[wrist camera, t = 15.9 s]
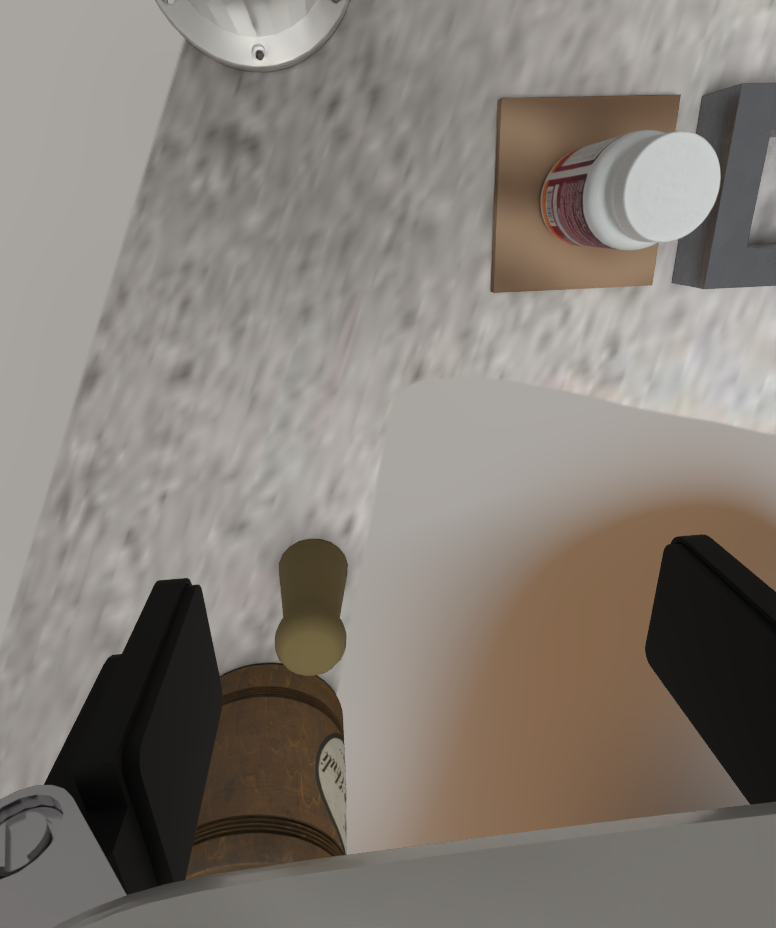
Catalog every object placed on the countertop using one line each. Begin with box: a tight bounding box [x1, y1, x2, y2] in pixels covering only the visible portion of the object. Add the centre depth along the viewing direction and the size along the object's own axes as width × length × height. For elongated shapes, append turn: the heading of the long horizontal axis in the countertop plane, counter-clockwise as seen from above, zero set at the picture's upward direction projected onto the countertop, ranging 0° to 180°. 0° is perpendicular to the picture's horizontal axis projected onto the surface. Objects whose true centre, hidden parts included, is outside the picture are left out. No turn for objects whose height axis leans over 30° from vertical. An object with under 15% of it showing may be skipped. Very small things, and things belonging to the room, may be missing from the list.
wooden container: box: [185, 664, 347, 880], centre depth 46 cm, size 15×15×22 cm
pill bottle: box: [541, 130, 721, 251], centre depth 34 cm, size 6×6×11 cm
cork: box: [275, 539, 348, 676], centre depth 45 cm, size 6×6×11 cm
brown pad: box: [491, 95, 681, 293], centre depth 39 cm, size 12×12×1 cm
